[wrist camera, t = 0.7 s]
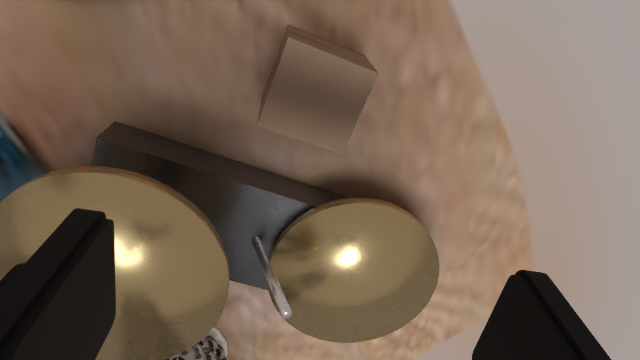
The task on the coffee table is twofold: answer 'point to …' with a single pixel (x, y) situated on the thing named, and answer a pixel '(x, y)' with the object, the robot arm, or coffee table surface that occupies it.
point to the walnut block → (315, 91)
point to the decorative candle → (206, 348)
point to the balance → (226, 245)
